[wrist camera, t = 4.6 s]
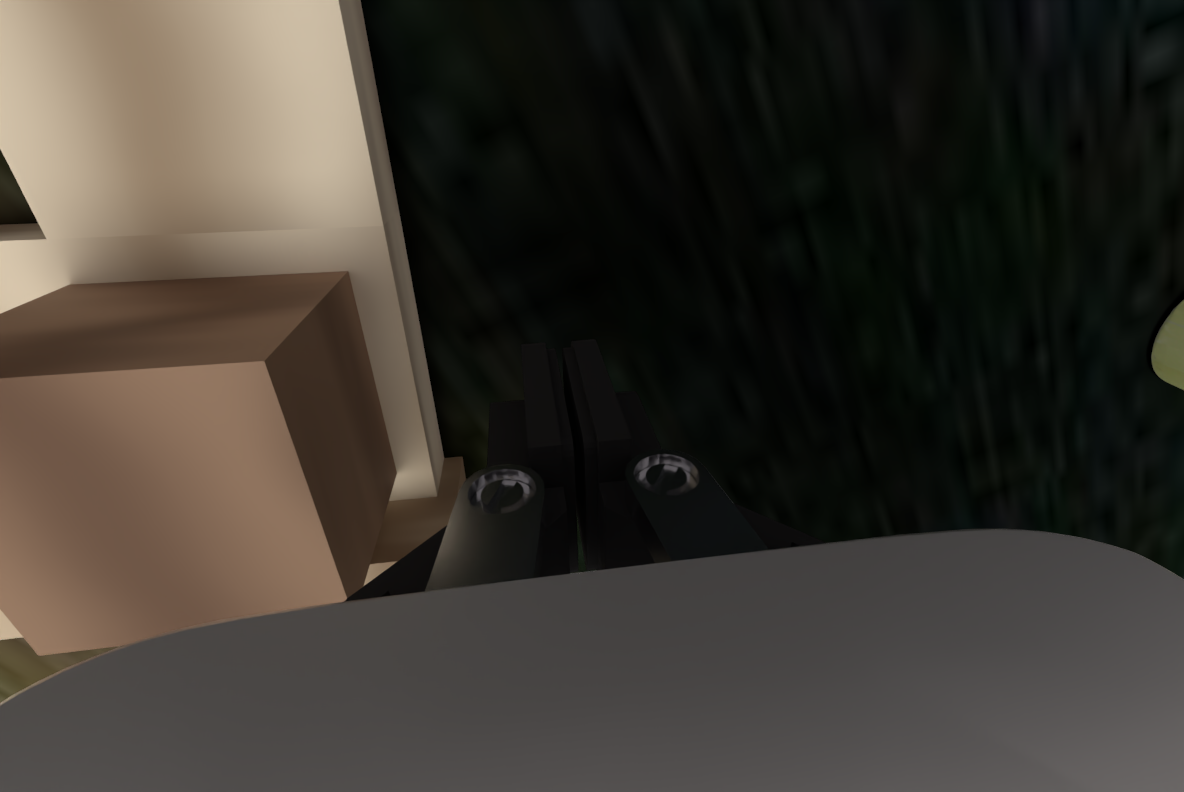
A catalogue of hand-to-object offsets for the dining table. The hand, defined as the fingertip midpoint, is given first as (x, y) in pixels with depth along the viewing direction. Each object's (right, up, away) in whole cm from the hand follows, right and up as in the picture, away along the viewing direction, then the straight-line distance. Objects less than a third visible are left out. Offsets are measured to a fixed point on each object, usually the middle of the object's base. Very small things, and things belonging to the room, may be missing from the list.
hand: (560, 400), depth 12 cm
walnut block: (-8, 0, +2) cm, 8 cm away
